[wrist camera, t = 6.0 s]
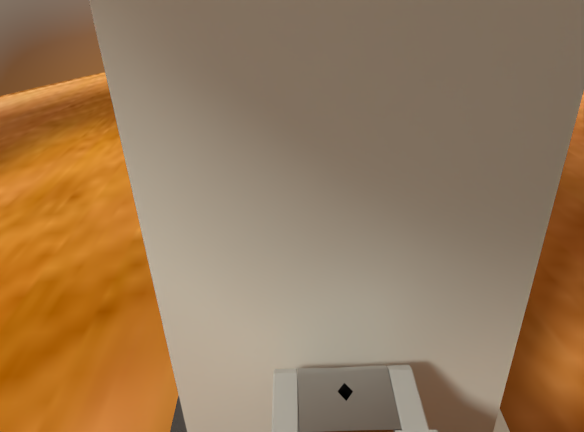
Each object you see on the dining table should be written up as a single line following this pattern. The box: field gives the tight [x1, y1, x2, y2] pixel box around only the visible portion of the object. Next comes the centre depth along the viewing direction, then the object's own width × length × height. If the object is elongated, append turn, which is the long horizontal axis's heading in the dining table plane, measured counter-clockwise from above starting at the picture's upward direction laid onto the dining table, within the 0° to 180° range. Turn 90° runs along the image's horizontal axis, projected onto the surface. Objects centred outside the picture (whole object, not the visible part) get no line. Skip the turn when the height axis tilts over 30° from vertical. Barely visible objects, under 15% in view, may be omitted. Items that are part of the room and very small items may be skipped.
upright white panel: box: [89, 0, 584, 432], centre depth 13 cm, size 8×10×17 cm
